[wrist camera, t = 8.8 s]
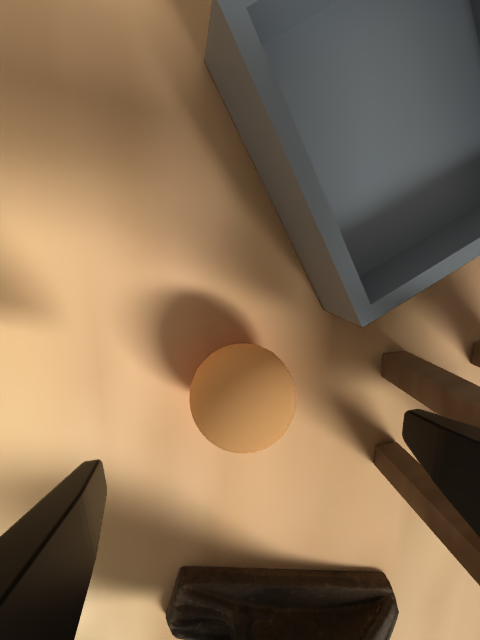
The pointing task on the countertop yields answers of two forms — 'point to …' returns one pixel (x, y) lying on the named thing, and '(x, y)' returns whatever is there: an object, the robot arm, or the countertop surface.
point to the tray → (360, 136)
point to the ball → (242, 398)
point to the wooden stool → (407, 474)
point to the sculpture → (280, 604)
